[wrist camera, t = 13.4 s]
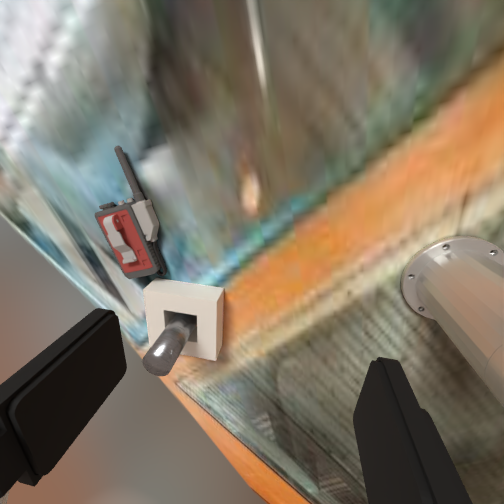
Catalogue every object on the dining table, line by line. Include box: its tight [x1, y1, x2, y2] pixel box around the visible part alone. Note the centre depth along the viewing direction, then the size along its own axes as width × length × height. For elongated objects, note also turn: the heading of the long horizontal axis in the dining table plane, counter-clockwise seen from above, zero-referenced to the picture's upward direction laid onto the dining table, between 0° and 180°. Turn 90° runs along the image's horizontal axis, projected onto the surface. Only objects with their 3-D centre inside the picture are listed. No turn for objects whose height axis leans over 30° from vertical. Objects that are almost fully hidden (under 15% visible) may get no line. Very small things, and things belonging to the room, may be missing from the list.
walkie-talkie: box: [95, 146, 167, 279], centre depth 38 cm, size 9×4×20 cm
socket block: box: [143, 278, 224, 361], centre depth 43 cm, size 12×12×4 cm
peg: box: [143, 312, 197, 376], centre depth 40 cm, size 4×4×12 cm
